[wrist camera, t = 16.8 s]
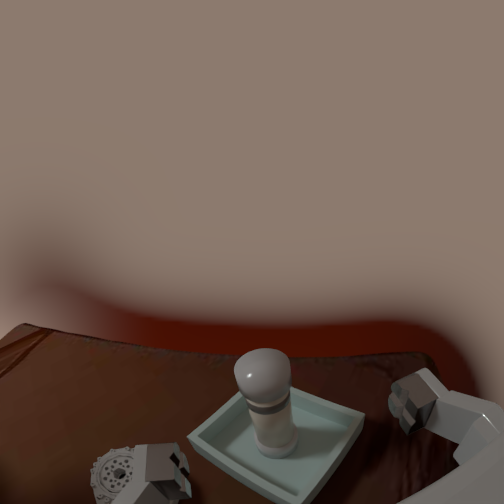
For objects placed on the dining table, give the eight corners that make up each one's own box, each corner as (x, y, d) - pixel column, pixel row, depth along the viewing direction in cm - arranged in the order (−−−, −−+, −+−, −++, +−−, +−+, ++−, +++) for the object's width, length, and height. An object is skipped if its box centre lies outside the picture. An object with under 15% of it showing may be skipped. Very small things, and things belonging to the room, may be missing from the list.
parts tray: (195, 450, 28) (186, 436, 27) (262, 389, 36) (258, 373, 35) (299, 515, 19) (298, 507, 18) (362, 429, 27) (365, 413, 26)
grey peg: (251, 454, 26) (225, 381, 22) (263, 423, 30) (245, 346, 25) (292, 462, 24) (281, 389, 20) (302, 429, 28) (295, 350, 24)
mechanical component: (87, 508, 19) (163, 541, 17) (64, 491, 18) (143, 529, 15) (121, 448, 28) (193, 467, 26) (104, 428, 27) (180, 448, 24)
